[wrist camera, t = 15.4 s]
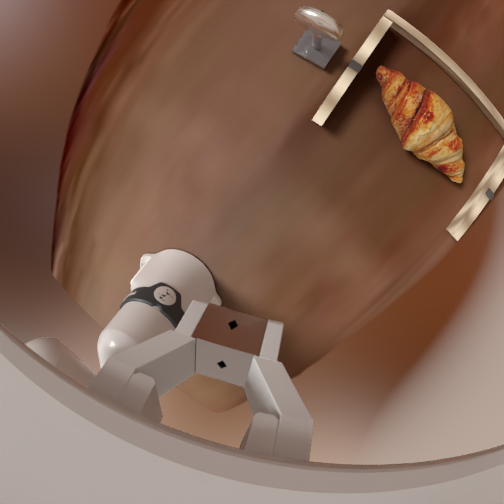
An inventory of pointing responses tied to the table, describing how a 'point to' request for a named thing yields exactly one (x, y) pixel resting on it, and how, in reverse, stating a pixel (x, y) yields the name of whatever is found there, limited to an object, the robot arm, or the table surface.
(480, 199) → the frame
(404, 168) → the table surface
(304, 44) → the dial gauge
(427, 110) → the croissant
